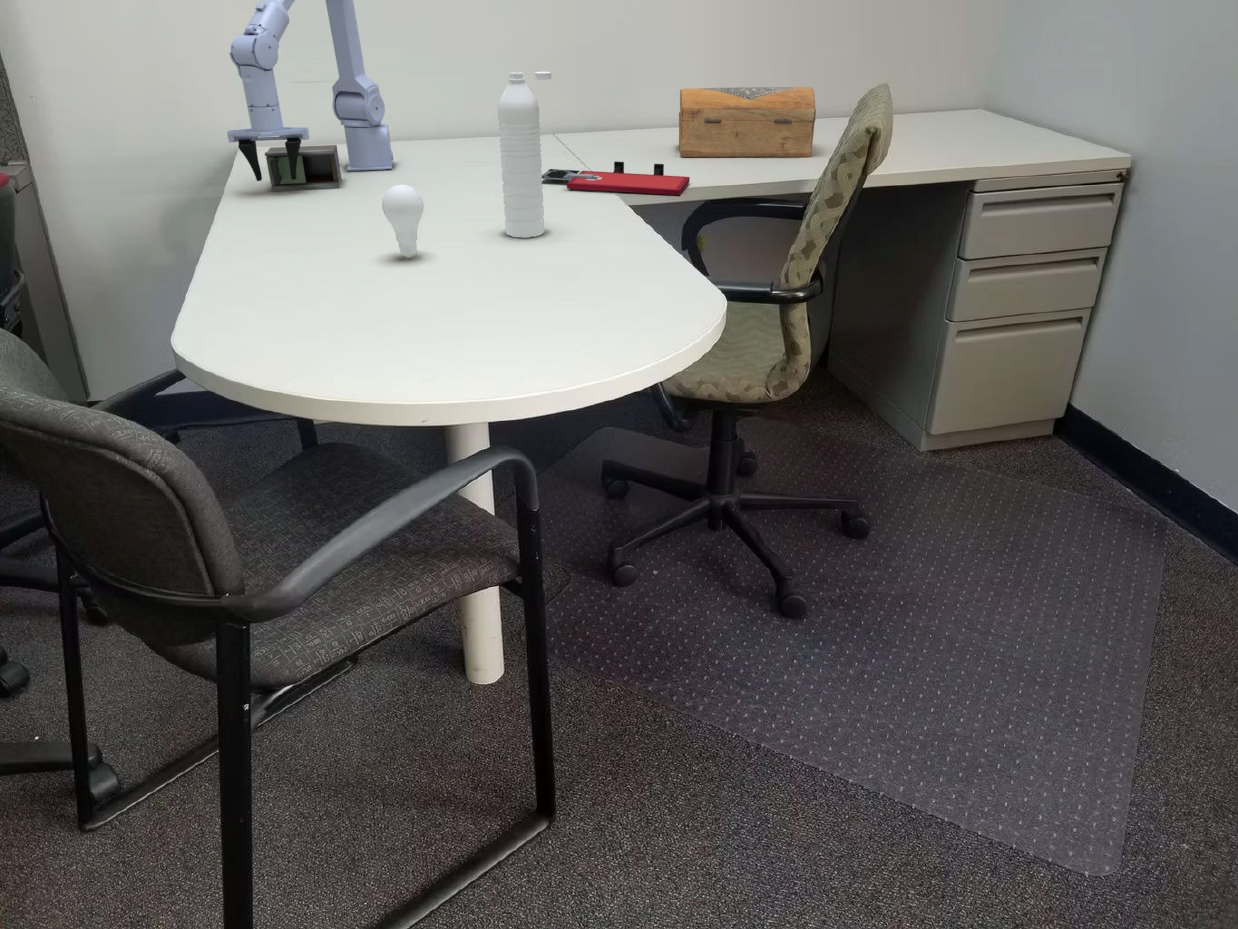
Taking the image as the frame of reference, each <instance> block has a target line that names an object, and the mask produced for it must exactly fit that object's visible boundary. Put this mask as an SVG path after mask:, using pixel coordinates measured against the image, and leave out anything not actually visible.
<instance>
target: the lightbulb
mask: <svg viewBox="0 0 1238 929" xmlns="http://www.w3.org/2000/svg"><path fill="white" fill-rule="evenodd" d="M424 207H425V206H424V200H423V198H422V195H421V194H420V193H419V191H418V190H417V189H415V188H414V187H412V186H410V185H407V184H395V185H393V186H391V187H390V188H388V189H387V190H386V192H385V193H384V195H383V197H382V201H381V210H382V212H383V215H384V216H385V218H386V220H387V221H388V222H389V224H390V225H391V227H392V229H393V232H394V235H395V239H396V242H397V243H398V248H399V254H400V255H401V256H403V257H405V258H406V259H411V258H413V256H415V255H416V254H417V253H418V249H417V240H418V228H419V223H420V222H421V219H422V216H423V214H424Z"/></svg>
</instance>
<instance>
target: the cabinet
mask: <svg viewBox="0 0 1238 929" xmlns="http://www.w3.org/2000/svg"><path fill="white" fill-rule="evenodd" d="M298 155H302V160H303V166H304V172H305V178H306V183H296V184H279V185H277V184H274V185H271V186H270V189H271V190H270V191H271V192H277V191H278V192H279V191H301V190H320V189H321V190H322V189H323V190H324V189H339V188H340V186H341V183H342V181H343V179H342V173H341V171H342V170H341V165H340V159H339V153H338V146H337V144H327V145H325V144H324V145H300V148H299V152H298ZM264 156H265V157H268V156H288V154H287V150H286V146H276V147H273V146H272V147H270V148H268V150H267V151H265V152H264Z"/></svg>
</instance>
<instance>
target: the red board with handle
mask: <svg viewBox="0 0 1238 929" xmlns="http://www.w3.org/2000/svg"><path fill="white" fill-rule="evenodd" d="M664 173H665V164H664V163H654V164H653V174H649V173H648V174H645V173H632V172H631V173H630V172H628V173H627V172H625V161H618V160H617V161H614V162H613V172H612V171H596V170H595V171H593V170H575V169H557V168H550V169H548V170H547V171H545V173H542V180H543V179H546V180H559V181H560V180H561V181H567V183H566V189H569V190H570V189H572V190H587V191H588V190H589V191H604V192H621V193H637V194H650V195H651V194H652V195H669V196H680V195H681V194H682V192H683V191H684V190H685V188H686V187H687V186H688V185H689V183H690V180H691V178H690V176H681V175H665V174H664Z"/></svg>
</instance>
